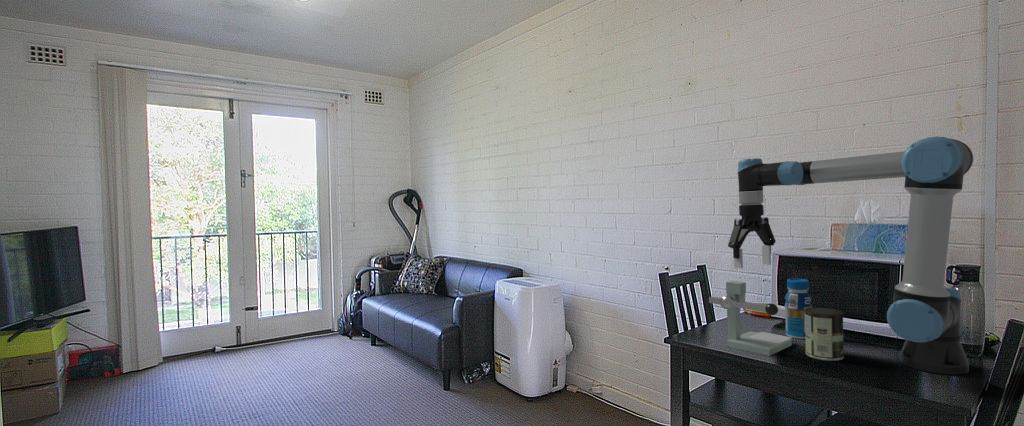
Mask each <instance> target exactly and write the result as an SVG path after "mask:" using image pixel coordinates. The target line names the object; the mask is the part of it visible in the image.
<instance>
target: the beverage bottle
mask: <svg viewBox="0 0 1024 426" xmlns="http://www.w3.org/2000/svg"><path fill="white" fill-rule="evenodd" d="M786 288H787V290H788V291H787V292H786V294H785V297H784V300H785V303H784V309H785V311H784V313H785V336H787V337H792V339H793V338H794V339H799V340H801V339H802V340H804V339H805V340H806V337H805V311H804V310H805V309H806V308H812V307H813V305H812V304H811V303H812V296H811V294H810V293H809V292H808V291H809V290H810V281H809V280H808V279H806V278H795V277H794V278H788V279H787V280H786Z"/></svg>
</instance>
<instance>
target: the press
mask: <svg viewBox="0 0 1024 426" xmlns="http://www.w3.org/2000/svg"><path fill="white" fill-rule="evenodd" d="M746 284H747V283H746V282H743V281H735V280H729V281H726V282H725V289H726V290H725V292H726V296H731V297H732V298H733V299H734V300H737V301H744V302H746V294H747V285H746ZM726 316H727V317H726V318H727V319H726V321H727V322H726V323H727V333H726V334H727V339H726V347H727V346H729V347H728V348H732V349H737V350H741V351H745V352H750V353H754V354H758V355H762V356H768V357H770V356H773V355H774V354H776V353H779V352H780V351H783V350H786V349H787V348H789V347H791V346H793V341H792V340H793V337H789V336H787V335H782V334H781V335H780V334H776V333H771V332H766V331H759V332H755V331H751V330H750V331H747V332H745V333H741V308H738V307H732V308H729V309H726Z"/></svg>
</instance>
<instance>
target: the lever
mask: <svg viewBox="0 0 1024 426" xmlns="http://www.w3.org/2000/svg"><path fill="white" fill-rule="evenodd" d="M708 303H709V304H715V305H720V307H722V308H721V309H724V310H727V309H729V308H732V307H738V308H740V309H745V310H751V311H756V312H763V313H766V314H767V315H769V316H775V315H777V314H778V312H779V307H778V306H777V304H775V303H768V304H762V303H756V302H749V301H745V302H744V301H737V300H734V299H733V298H732V297H731V296H727V295H726V296H723V297H716V296H710V297H708Z"/></svg>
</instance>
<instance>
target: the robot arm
mask: <svg viewBox="0 0 1024 426" xmlns="http://www.w3.org/2000/svg"><path fill="white" fill-rule="evenodd" d="M973 162H974V154H973V152H972V150H971V148H970V147H969V145H967V144H966V143H965V142H963V141H961V140H958V139H955V138H948V137H946V136H936V135H935V136H930V137H929V136H928V137H925V138H921V139H919V140H917V141H915V142H913V143H912V144H910V145H909V146H908V147H907V148H906V150H904V151H894V152H887V153H886V152H885V153H878V154H877V153H876V154H875V153H874V154H869V155H868V154H867V155H857V156H851V157H850V156H849V157H839V158H831V159H821V160H814V161H809V160H808V161H800V162H799V161H796V160H795V161H792V160H791V161H788V160H787V161H779V162H772V163H771V162H770V163H763V159H762V158H761V157H759V158H758V157H756V158H744V159H740V160H739V161H738V164H737V178H738V179H737V180H738V203H739V206H738V211H739V212H738V213H739V216H740V217H741V219H740V218H739V219H737V218H735V219H734V223H733V229H732V232H731V234H730V238H729V240H728V244H727V247H728V248H730V249H733V250H732V251H733V253H732V254H733V256H732V257H733V258H734V259H733V260H734V268H735V269H743V268H744V265H743V263H744V262H743V261H744V259H743V258H744V257H743V249H742V248H741V247H742V245H743V244H744V241H745V240H746V238H747V236H748V234H750V233H751V232H754V233H756V235H757V236H758V238H759V239H760V240H761V242H762V243H763V244H762V245H761V253H762V255H761V256H762V257H761V258H762V259H761V261H762V265H768V266H769V265H772V257H771V256H772V247H773V246H775V244H776V242H777V241H776V238H775V235H774V233H773V231H772V228H771V225H770V221H769V217H767V216H766V217H765V216H764V213H765V210H764V205H763V203H764V187H770V186H771V187H773V186H775V187H777V186H786V187H787V186H804V185H805V186H806V185H812V184H813V185H814V184H826V183H838V182H839V183H840V182H841V183H842V182H854V181H869V180H883V179H884V180H885V179H896V178H904V185H903V186H904V189H905V190H906V191H907V193H909V194H910V201H909V209H908V221H907V230H906V241H905V251H904V259H903V260H904V262H903V270H902V271H903V272H902V278H901V279H902V280H901V282H899V283H897V284H896V285H894V288H893V289H894V290H893V291H894V292H893V298H892V299H893V300H892V301H893V302H892V304H890V305H889V307H888V310H887V311H886V321H887V324H888V326H889V327H890V329H891V331H893V333H895V334H896V335H897V336H899V337H900V338H901V339H904V340H905V341H904V343H903V346H902V348H901V351H900V352H899V359H900V362H901V363H902V364H903V365H905V366H906V367H909V368H913V369H914V370H919V371H923V372H928V373H934V374H940V375H941V374H942V375H952V376H953V375H955V376H956V375H957V376H958V375H965V374H968V373H969V372H970V362H969V360H968V357H967V355H966V352H965V350H964V347H963V345H962V341H961V336H962V335H961V323H962V322H961V319H962V317H961V311H962V310H961V309H962V308H961V306H962V305H961V302H962V299H961V292H960V291H959V289H957V288H953V287H945V286H944V285H945V277H946V268H947V259H948V258H947V257H948V251H949V250H948V249H949V241H950V240H949V239H950V230H951V220H952V210H953V204H954V203H953V202H954V196H956V195H957V194H958V193H960V192H961V191H962V190H963V186H964V185H963V183H964V176H965V175H966V174H967V173H969V171H970V169H971V168H972V166H973Z"/></svg>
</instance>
